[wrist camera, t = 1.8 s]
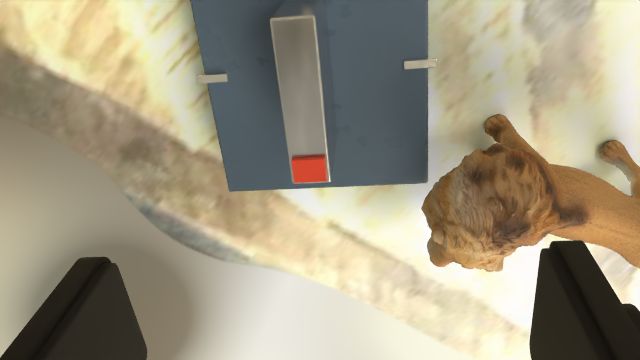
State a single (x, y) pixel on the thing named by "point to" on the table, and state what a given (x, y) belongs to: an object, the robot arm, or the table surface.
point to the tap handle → (305, 88)
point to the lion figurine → (528, 204)
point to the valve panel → (348, 85)
